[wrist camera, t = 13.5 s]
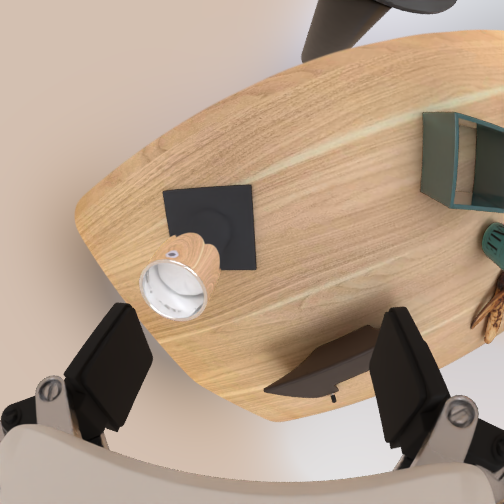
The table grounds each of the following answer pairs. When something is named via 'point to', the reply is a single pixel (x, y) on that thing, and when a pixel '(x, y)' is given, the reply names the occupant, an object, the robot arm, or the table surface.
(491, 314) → the overripe bananas
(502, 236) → the beverage bottle
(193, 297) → the beer glass
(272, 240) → the table surface
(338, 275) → the table surface
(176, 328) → the table surface
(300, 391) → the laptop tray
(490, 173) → the holder
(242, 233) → the mat
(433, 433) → the robot arm
